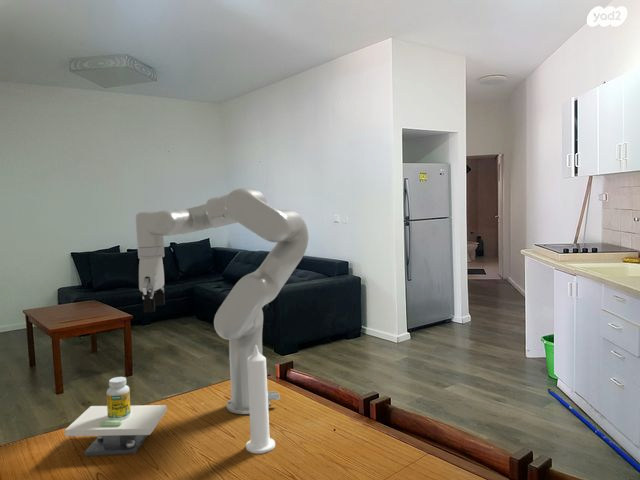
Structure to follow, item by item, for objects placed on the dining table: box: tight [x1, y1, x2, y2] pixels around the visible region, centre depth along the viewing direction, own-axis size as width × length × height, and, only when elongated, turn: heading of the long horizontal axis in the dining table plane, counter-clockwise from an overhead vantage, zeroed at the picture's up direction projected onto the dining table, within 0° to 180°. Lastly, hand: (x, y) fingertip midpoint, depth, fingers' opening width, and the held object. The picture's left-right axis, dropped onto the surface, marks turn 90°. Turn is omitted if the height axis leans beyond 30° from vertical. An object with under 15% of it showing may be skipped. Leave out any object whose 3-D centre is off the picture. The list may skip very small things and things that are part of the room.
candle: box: [245, 345, 276, 455], centre depth 118 cm, size 7×7×25 cm
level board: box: [64, 404, 168, 437], centre depth 124 cm, size 20×14×3 cm
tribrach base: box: [84, 435, 149, 457], centre depth 124 cm, size 12×13×4 cm
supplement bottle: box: [106, 376, 131, 421], centre depth 124 cm, size 5×5×10 cm
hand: (154, 308), depth 149 cm, fingers open, 9 cm apart
